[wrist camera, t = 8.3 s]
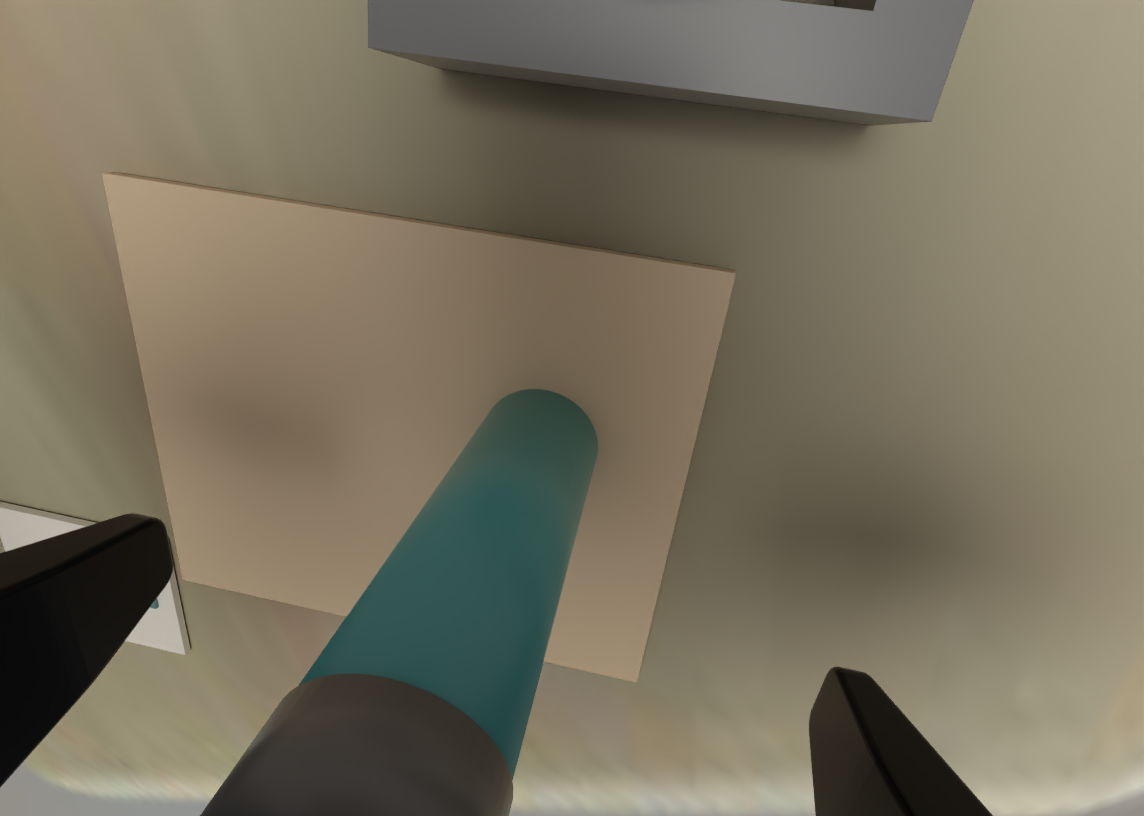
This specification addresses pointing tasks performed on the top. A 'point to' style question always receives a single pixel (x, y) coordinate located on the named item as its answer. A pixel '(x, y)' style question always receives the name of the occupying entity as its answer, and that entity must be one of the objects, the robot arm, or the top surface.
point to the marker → (437, 640)
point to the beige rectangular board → (402, 390)
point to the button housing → (698, 49)
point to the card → (31, 525)
